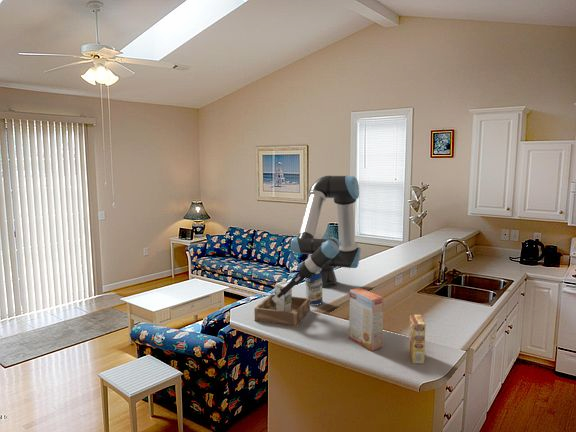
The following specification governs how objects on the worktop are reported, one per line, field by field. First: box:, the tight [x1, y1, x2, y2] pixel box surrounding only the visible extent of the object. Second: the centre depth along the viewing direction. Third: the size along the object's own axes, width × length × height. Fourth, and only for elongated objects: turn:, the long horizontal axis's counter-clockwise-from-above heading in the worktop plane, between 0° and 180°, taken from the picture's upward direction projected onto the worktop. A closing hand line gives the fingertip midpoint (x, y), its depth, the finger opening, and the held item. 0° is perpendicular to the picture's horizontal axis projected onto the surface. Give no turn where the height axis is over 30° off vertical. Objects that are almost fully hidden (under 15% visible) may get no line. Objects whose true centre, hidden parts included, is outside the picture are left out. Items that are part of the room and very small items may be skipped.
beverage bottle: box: [305, 270, 323, 306], centre depth 211 cm, size 8×8×20 cm
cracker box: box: [348, 287, 384, 352], centre depth 168 cm, size 14×6×21 cm, turn 30°
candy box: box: [408, 314, 426, 365], centre depth 156 cm, size 9×4×15 cm, turn 174°
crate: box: [254, 293, 311, 328], centre depth 197 cm, size 20×20×6 cm
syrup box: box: [274, 281, 293, 312], centre depth 196 cm, size 6×6×14 cm
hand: (279, 295), depth 197 cm, fingers open, 13 cm apart
